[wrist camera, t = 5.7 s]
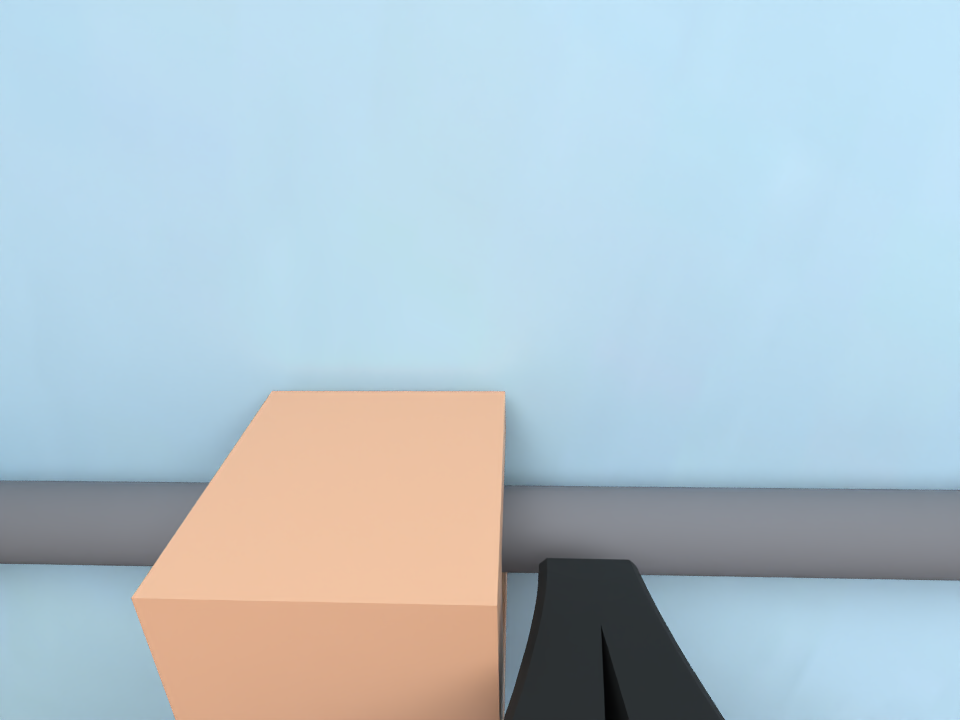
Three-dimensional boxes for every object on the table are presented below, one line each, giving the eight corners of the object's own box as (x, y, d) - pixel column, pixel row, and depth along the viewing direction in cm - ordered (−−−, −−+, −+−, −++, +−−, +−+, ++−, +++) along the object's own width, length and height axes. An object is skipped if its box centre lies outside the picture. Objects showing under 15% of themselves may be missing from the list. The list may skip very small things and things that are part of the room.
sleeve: (504, 391, 11) (497, 605, 7) (507, 569, 13) (501, 823, 9) (272, 391, 11) (131, 598, 7) (306, 566, 13) (209, 811, 9)
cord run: (1757, 290, 10) (2486, 444, 6) (1454, 629, 13) (1816, 861, 9) (-480, 306, 12) (-912, 426, 8) (-268, 592, 15) (-516, 769, 11)
